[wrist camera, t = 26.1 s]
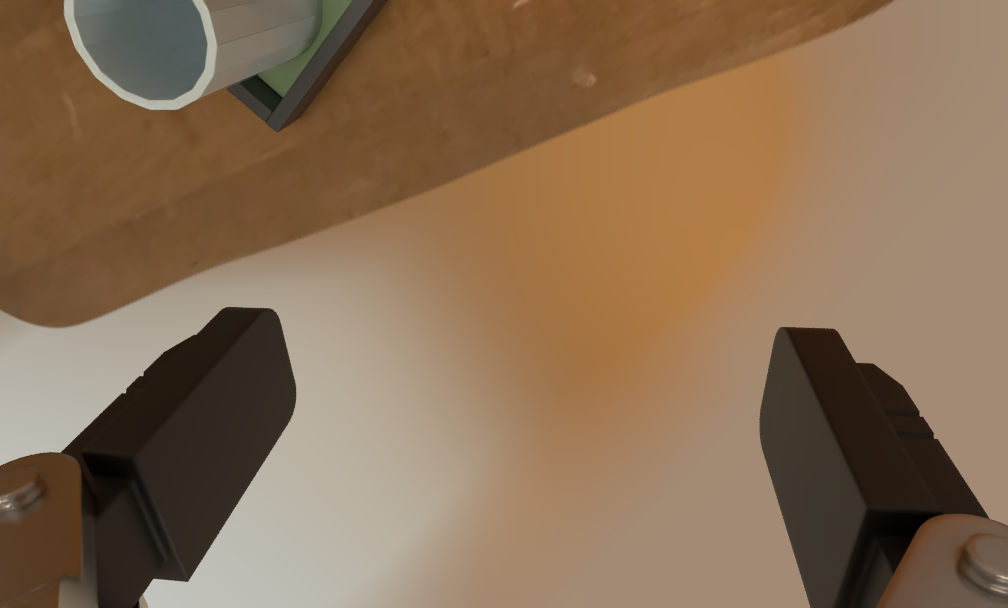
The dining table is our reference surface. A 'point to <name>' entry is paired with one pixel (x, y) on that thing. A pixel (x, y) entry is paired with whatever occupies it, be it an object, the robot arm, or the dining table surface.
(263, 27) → the tumbler
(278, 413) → the robot arm
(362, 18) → the tray
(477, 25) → the dining table surface
